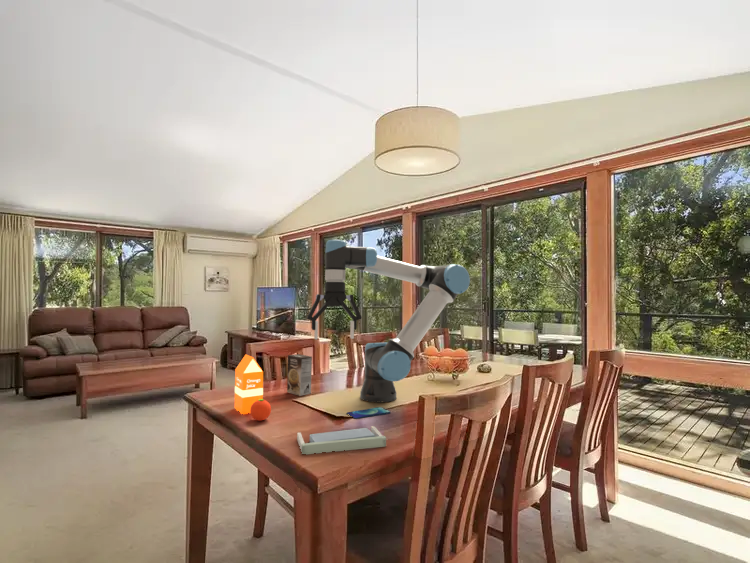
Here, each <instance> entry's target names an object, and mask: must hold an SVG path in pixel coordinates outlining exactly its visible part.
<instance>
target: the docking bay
mask: <svg viewBox="0 0 750 563" xmlns="http://www.w3.org/2000/svg"><path fill="white" fill-rule="evenodd" d="M370 431H371V432H372V433H373V434H374V435H375V437H367V438H357V439H346V440H335V441H324V442H313V443H310V442H306V443H305V441H304V437H303V435H302V432H301V431H300V432H297V434H296V435H297V436H296V440H297V443H298V446H300V447H299V450H300V449H301V450H300V452H302V453H301V455H302V454H306V455H315V454H314V453H316V454H323V453H322V452H326V453H333V452H332V451H335V452H345V451H353V450H355V451H356V450H364V449H375V448H385V447H387V437H386V436H385V435H383V434H382V433H381V432H380V430H378V429H377V428H376V427H375V425H373V426H370ZM344 450H345V451H344Z"/></svg>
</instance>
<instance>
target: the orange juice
mask: <svg viewBox="0 0 750 563" xmlns="http://www.w3.org/2000/svg"><path fill="white" fill-rule="evenodd" d="M234 371H235V372H234V373H235V375H234V408H235V409H236V410H235V409H234V410H235V411H237V412H238V411H239V412H240V414H241V415H242V414H243V415H248V413H249V414H251V413H250V410H251V406H252V404H253V403H254V402H256V401H257V400H259V399H263V400H264V398H263V397H264V371H263V370H262V368H261V367H260V365H259V364H258V362H257V361H256V359H255V358H254V356H251V355H249V354H245V355H244V356H243V358H242V359H241V361H240V362H239V363H238V365H237V367H235V369H234ZM239 412H238V413H239Z"/></svg>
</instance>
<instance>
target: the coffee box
mask: <svg viewBox="0 0 750 563" xmlns="http://www.w3.org/2000/svg"><path fill="white" fill-rule="evenodd" d="M312 360H313V357H312V356H310V355H305V354H300V353H297V354H290V355H289V354H288V355H287V380H286V382H287V385H286V386H287V387H286V389H287V390H286V392H287V394H288V393H289V394H292V395H296V396H299V397H301V396H305V395H310V394H312V368H313V367H312V364H313V361H312Z"/></svg>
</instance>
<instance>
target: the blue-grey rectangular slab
mask: <svg viewBox="0 0 750 563" xmlns="http://www.w3.org/2000/svg"><path fill="white" fill-rule="evenodd" d="M367 437H375V435H374V434H373V433H372V432H371V429H368V427H362V428H355V429H354V428H353V429H345V430H337V431H326V432H319V433H318V432H317V433H312V434H309V443H313V442H324V441H335V440H346V439H357V438H367Z"/></svg>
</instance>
